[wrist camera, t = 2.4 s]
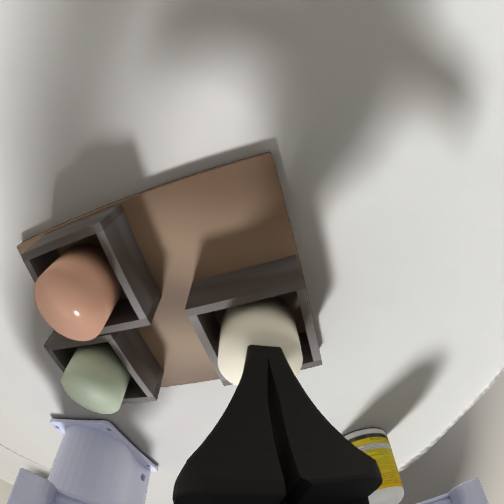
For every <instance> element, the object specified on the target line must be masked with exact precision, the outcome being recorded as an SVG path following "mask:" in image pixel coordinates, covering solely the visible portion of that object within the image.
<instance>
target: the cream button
mask: <svg viewBox="0 0 504 504" xmlns="http://www.w3.org/2000/svg"><path fill="white" fill-rule="evenodd" d="M249 345H261V346H274V347H280V348H281V349H282V351H283V353H284V355H285V357H286V359H287V361H288V363H289V365H290V367H291V369H292V371H293V373H294V375H295V376H296V375H297V374H298V372H299V371H300V369H301V366H302V363H303V356H302V351H301V346H300V341H299V337H298V332H297V327H296V323H295V318H294V315H293V313H292V311H291V309H290V308H289V307H288V306H287V305H286V304H285V303H283V302H282V301H280V300H278V299H276V298H273V297H270V298H266V299H262V300H258V301H254V302H250V303H246V304H242V305H238V306H234V307H229V308H227V310H226V311H225V313H224V315H223V317H222V321H221V329H220V340H219V351H218V368H219V370H220V372H221V374H222V375H223V377H224V378H225V379H226V380H228V381H229V382H230V383H232V384H234V385H236V386H238V384H239V382H240V379H241V376H242V373H243V369H244V363H245V358H246V353H247V347H248V346H249Z"/></svg>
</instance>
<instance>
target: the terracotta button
mask: <svg viewBox="0 0 504 504" xmlns="http://www.w3.org/2000/svg"><path fill="white" fill-rule="evenodd" d="M122 291H123V288H122V286H121V284H120V282H119V280H118V278H117V276H116V274H115V272H114V270H113V268H112V266H111V264H110V262H109V260H108V258H107V256H106V254H105V252H104V251H102V250H101V249H99V248H97V247H95V246H92V245H88V244H77V245H74V246H71V247H70V248H68V249H67V250H66V251H65V252H64V253H63V254H62V255H61V256H60V257H59V258H58V259H57V260H55V261H54V262H53V263H52V264H51V265H50V266H49V267H48V268H47V269H46V270H45V271H44V272H43V273H42V274H41V275H40V276H39V278H38V279H37V281H36V283H35V286H34V299H35V303H36V306H37V308H38V311H39V312H40V314H41V316H42V317H43V319H44V320H45V321H46V322H47V323H48V324H49V325H50V326H51V327H52V328H53V329H54V330H55V331H57V332H58V333H59V334H61V335H63V336H65V337H67V338H69V339H73V340H77V341H88V340H92V339H94V338H95V337H97V336H98V335H99V334H100V332H101V331H102V329H103V327H104V325H105V323H106V322H107V320H108V318H109V316H110V314H111V313H112V311H113V309H114V307H115V306H116V304H117V302H118V300H119V299H120V297H121V294H122Z"/></svg>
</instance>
